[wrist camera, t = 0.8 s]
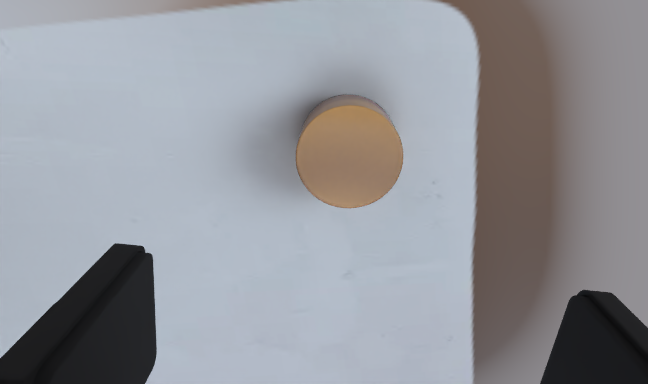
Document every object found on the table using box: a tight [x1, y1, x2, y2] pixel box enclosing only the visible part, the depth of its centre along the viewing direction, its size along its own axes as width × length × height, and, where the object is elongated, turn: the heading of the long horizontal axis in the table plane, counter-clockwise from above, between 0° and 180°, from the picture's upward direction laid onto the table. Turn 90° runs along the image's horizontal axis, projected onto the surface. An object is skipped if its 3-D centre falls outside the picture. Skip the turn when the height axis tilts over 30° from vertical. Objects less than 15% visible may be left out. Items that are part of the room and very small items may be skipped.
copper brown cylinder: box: [296, 95, 403, 208], centre depth 23 cm, size 5×5×3 cm
